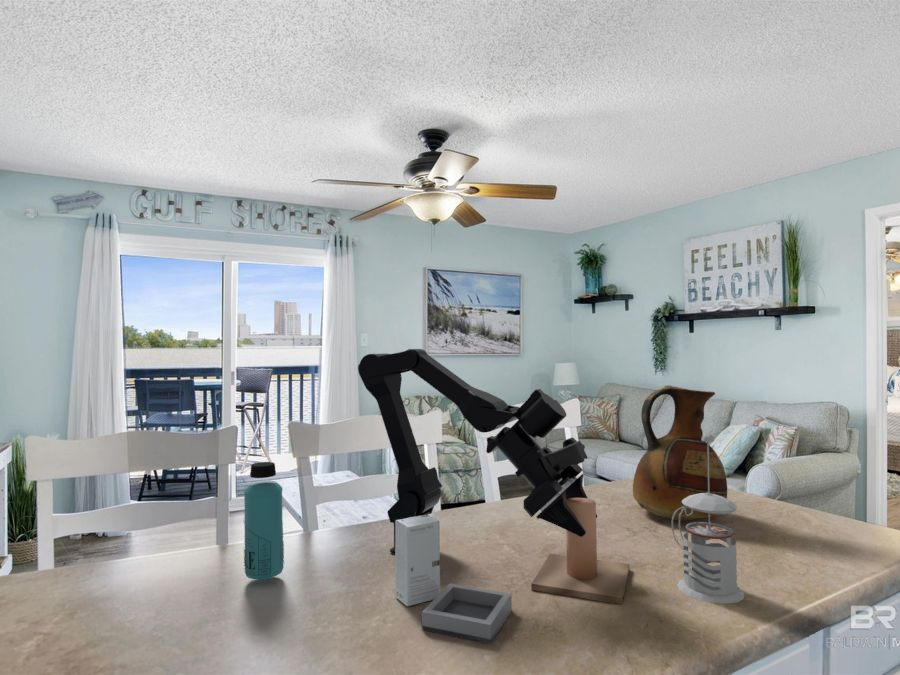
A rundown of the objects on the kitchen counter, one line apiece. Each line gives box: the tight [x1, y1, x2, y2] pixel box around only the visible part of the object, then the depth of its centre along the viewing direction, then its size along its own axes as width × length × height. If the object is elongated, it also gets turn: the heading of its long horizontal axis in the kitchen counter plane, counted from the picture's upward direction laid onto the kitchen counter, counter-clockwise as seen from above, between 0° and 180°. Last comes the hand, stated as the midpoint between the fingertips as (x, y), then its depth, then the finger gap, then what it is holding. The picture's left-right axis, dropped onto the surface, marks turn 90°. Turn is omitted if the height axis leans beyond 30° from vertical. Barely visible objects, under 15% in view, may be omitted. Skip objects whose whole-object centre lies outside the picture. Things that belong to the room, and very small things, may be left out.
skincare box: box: [394, 514, 441, 607], centre depth 88 cm, size 6×4×12 cm
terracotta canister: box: [565, 498, 598, 579], centre depth 94 cm, size 5×5×12 cm
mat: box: [531, 553, 630, 605], centre depth 94 cm, size 14×14×1 cm
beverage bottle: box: [242, 461, 285, 580], centre depth 95 cm, size 6×7×20 cm
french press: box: [671, 433, 745, 605], centre depth 90 cm, size 10×12×25 cm
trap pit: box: [421, 583, 513, 645], centre depth 80 cm, size 10×10×2 cm
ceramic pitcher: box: [632, 384, 728, 521], centre depth 129 cm, size 20×20×30 cm
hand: (590, 526), depth 93 cm, fingers open, 9 cm apart
